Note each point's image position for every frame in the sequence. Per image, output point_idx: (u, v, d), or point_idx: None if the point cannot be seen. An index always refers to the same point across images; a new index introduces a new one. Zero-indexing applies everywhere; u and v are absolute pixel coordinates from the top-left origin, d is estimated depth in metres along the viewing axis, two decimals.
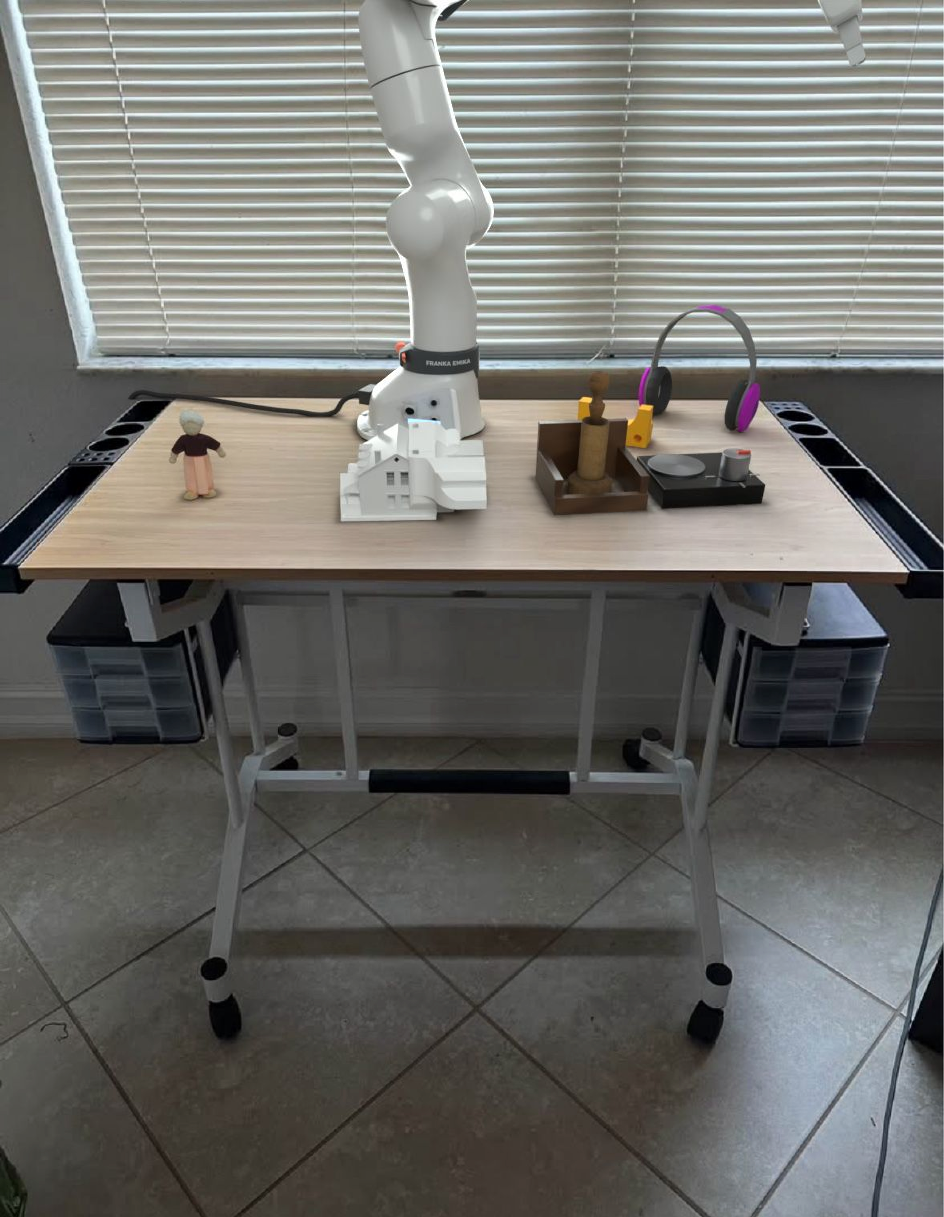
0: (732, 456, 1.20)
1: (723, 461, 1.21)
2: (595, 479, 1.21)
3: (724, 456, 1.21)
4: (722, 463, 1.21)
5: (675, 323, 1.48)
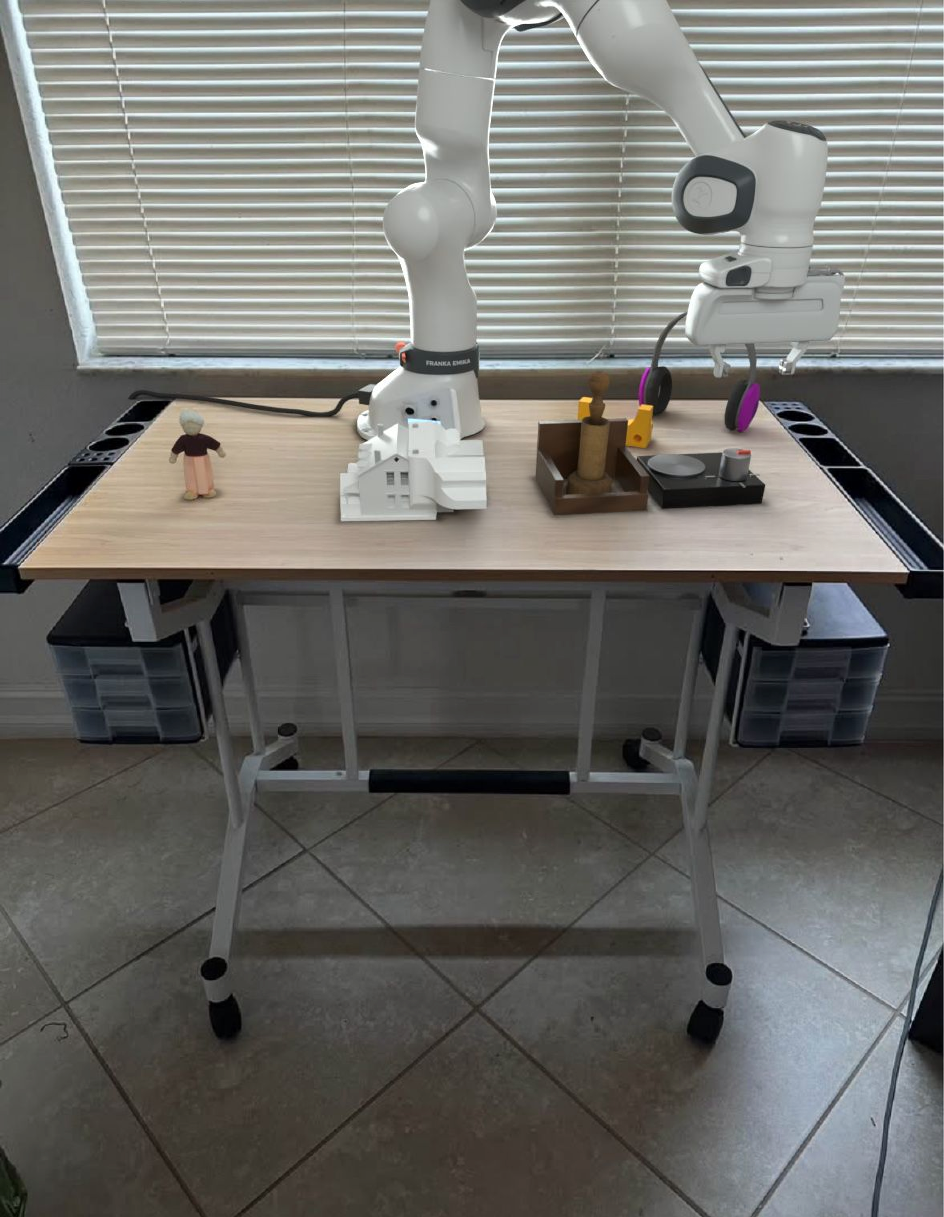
0: (732, 456, 1.20)
1: (723, 461, 1.21)
2: (595, 479, 1.21)
3: (724, 456, 1.21)
4: (722, 463, 1.21)
5: (675, 323, 1.48)
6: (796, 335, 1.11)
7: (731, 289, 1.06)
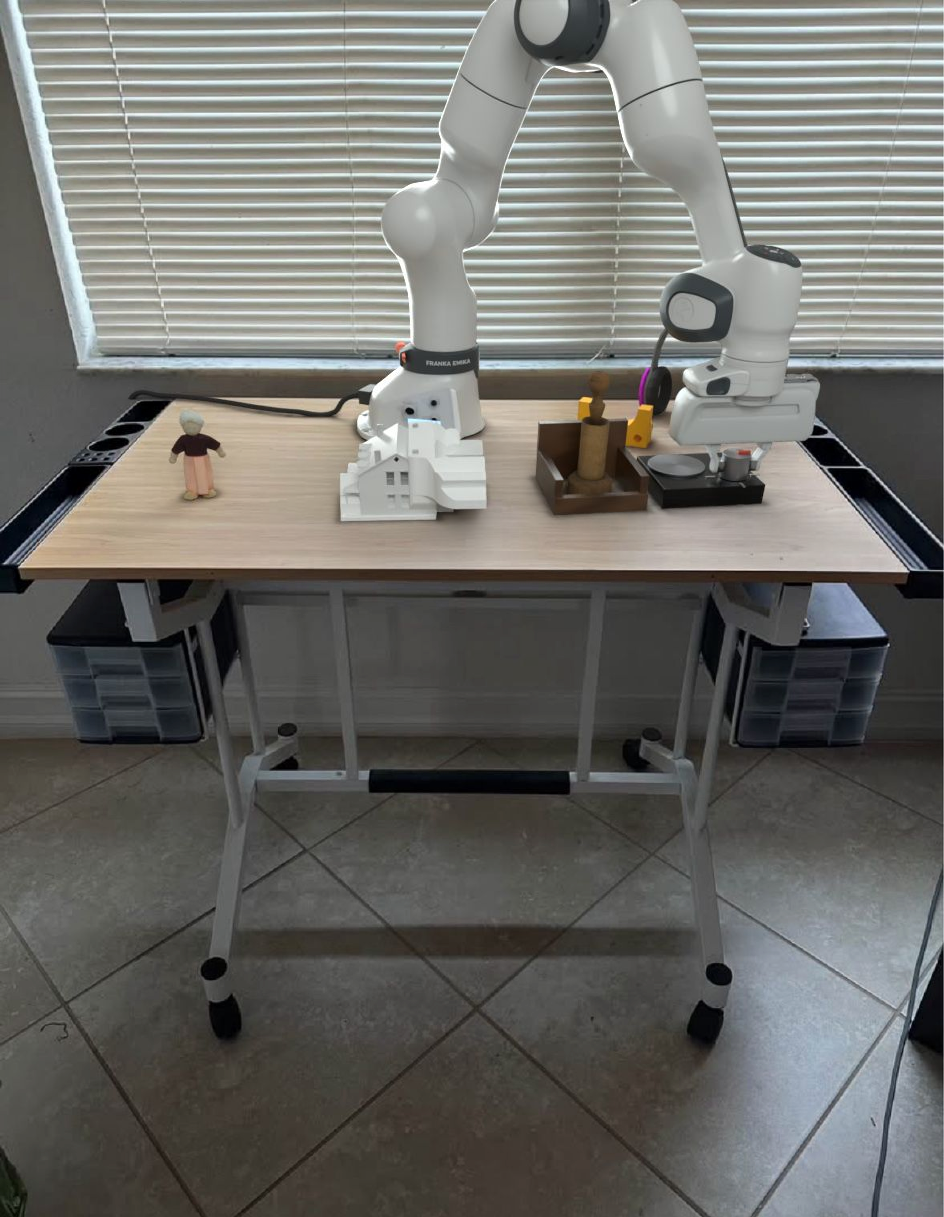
0: (732, 456, 1.20)
1: None
2: (595, 479, 1.21)
3: (724, 456, 1.21)
4: None
5: None
6: (773, 436, 1.18)
7: (712, 397, 1.13)
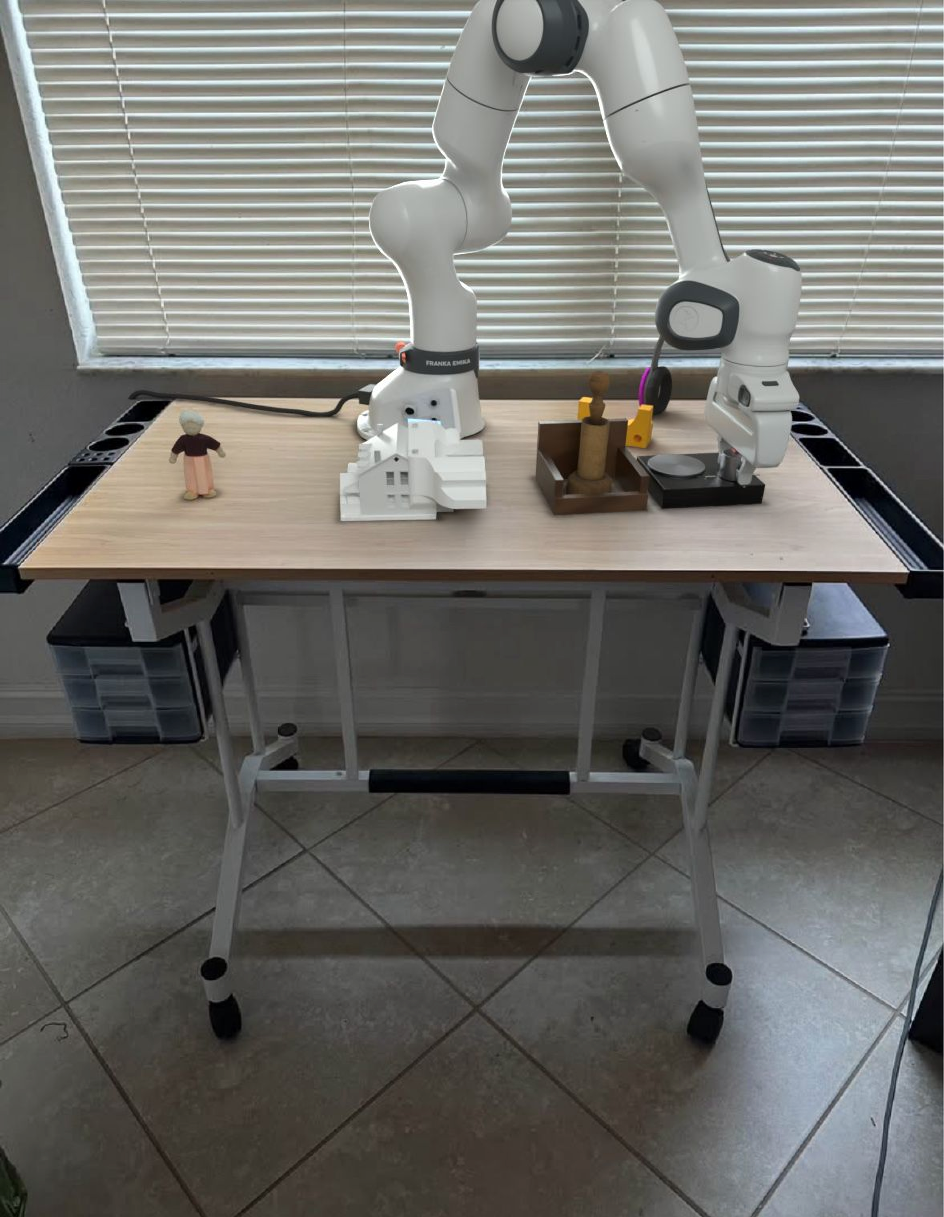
0: None
1: None
2: (595, 479, 1.21)
3: None
4: None
5: None
6: None
7: None
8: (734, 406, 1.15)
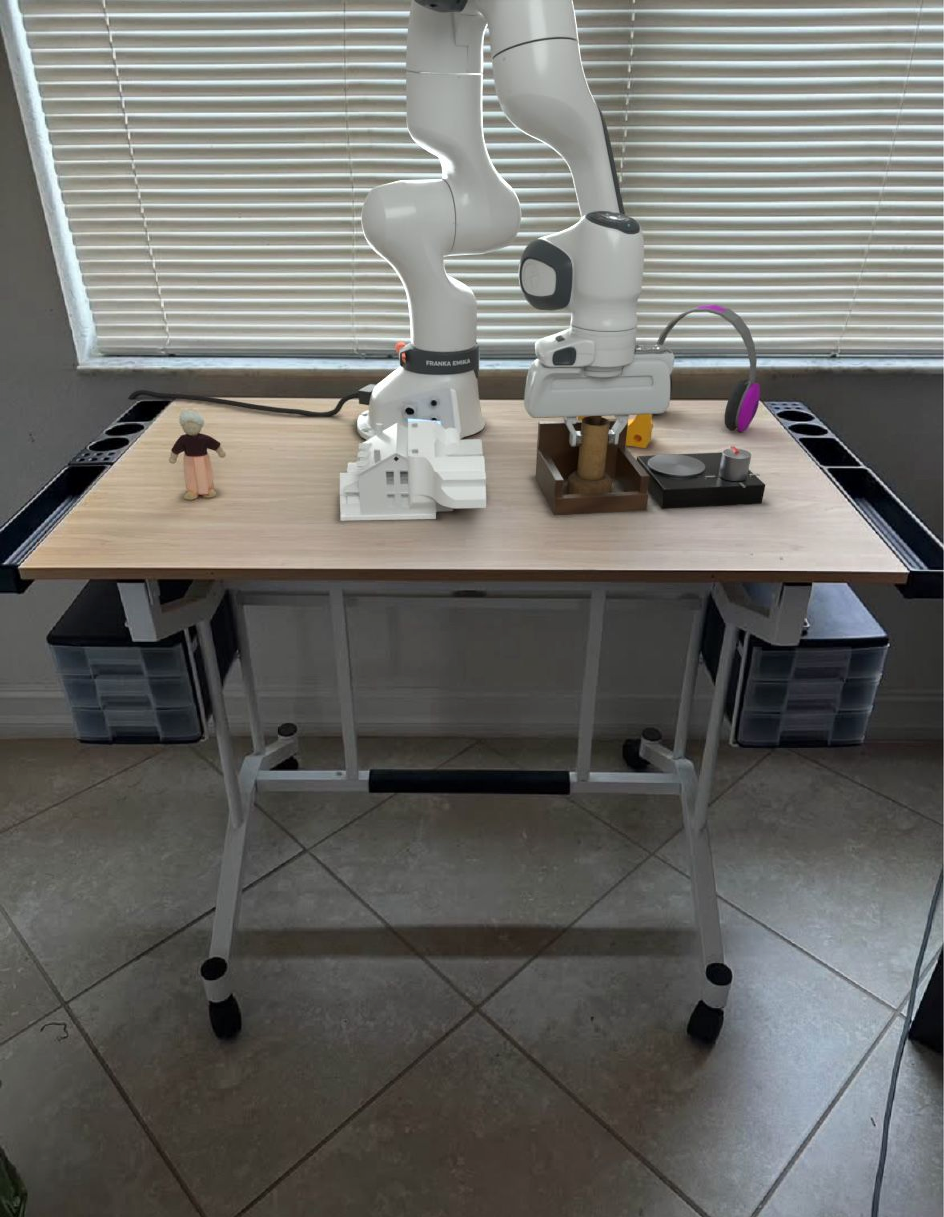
0: (748, 456, 1.20)
1: (742, 465, 1.20)
2: (595, 479, 1.21)
3: (743, 460, 1.20)
4: (741, 467, 1.20)
5: (675, 323, 1.48)
6: (629, 409, 1.17)
7: (559, 367, 1.11)
8: None
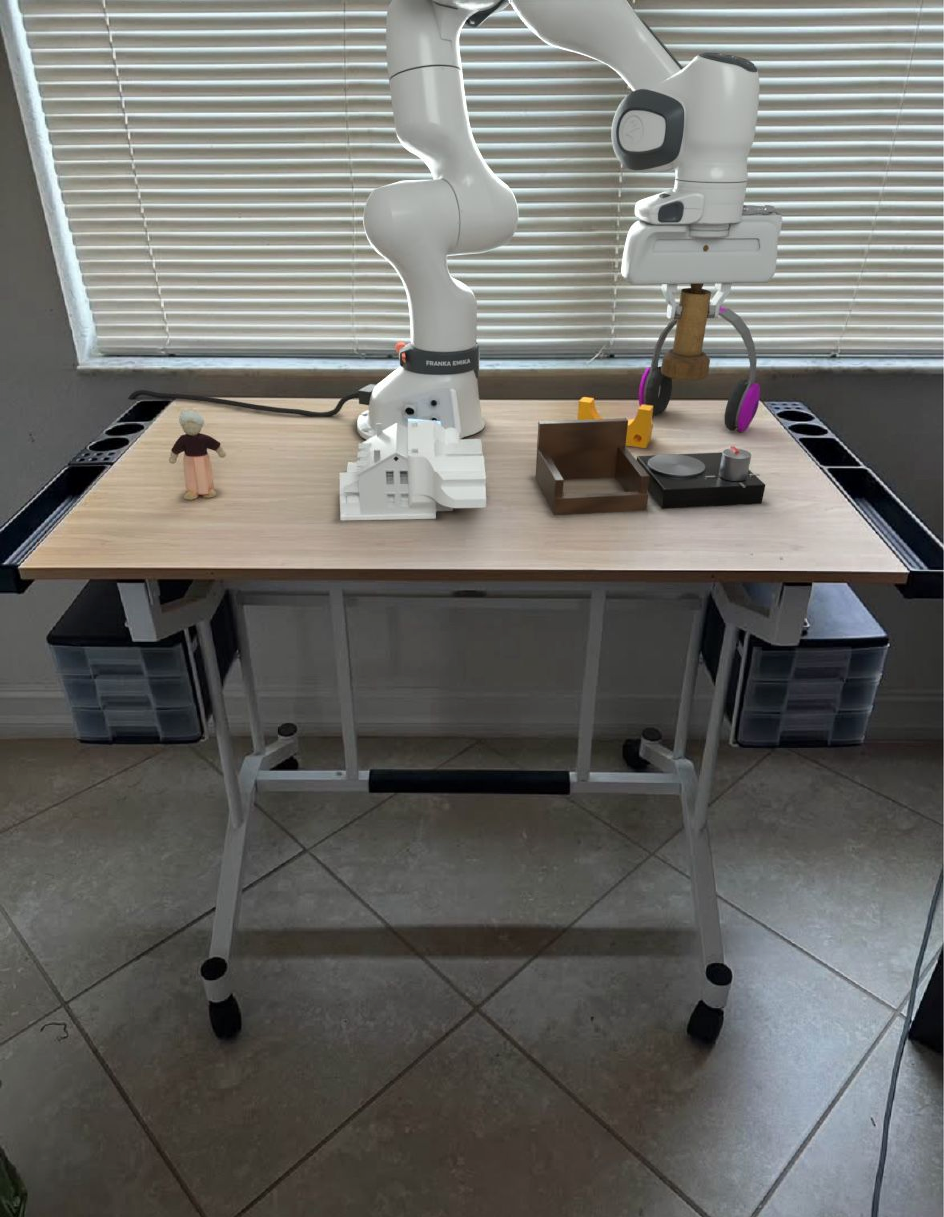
0: (748, 456, 1.20)
1: (742, 465, 1.20)
2: (693, 355, 1.15)
3: (743, 460, 1.20)
4: (741, 467, 1.20)
5: (675, 323, 1.48)
6: (733, 276, 1.10)
7: (664, 225, 1.05)
8: None
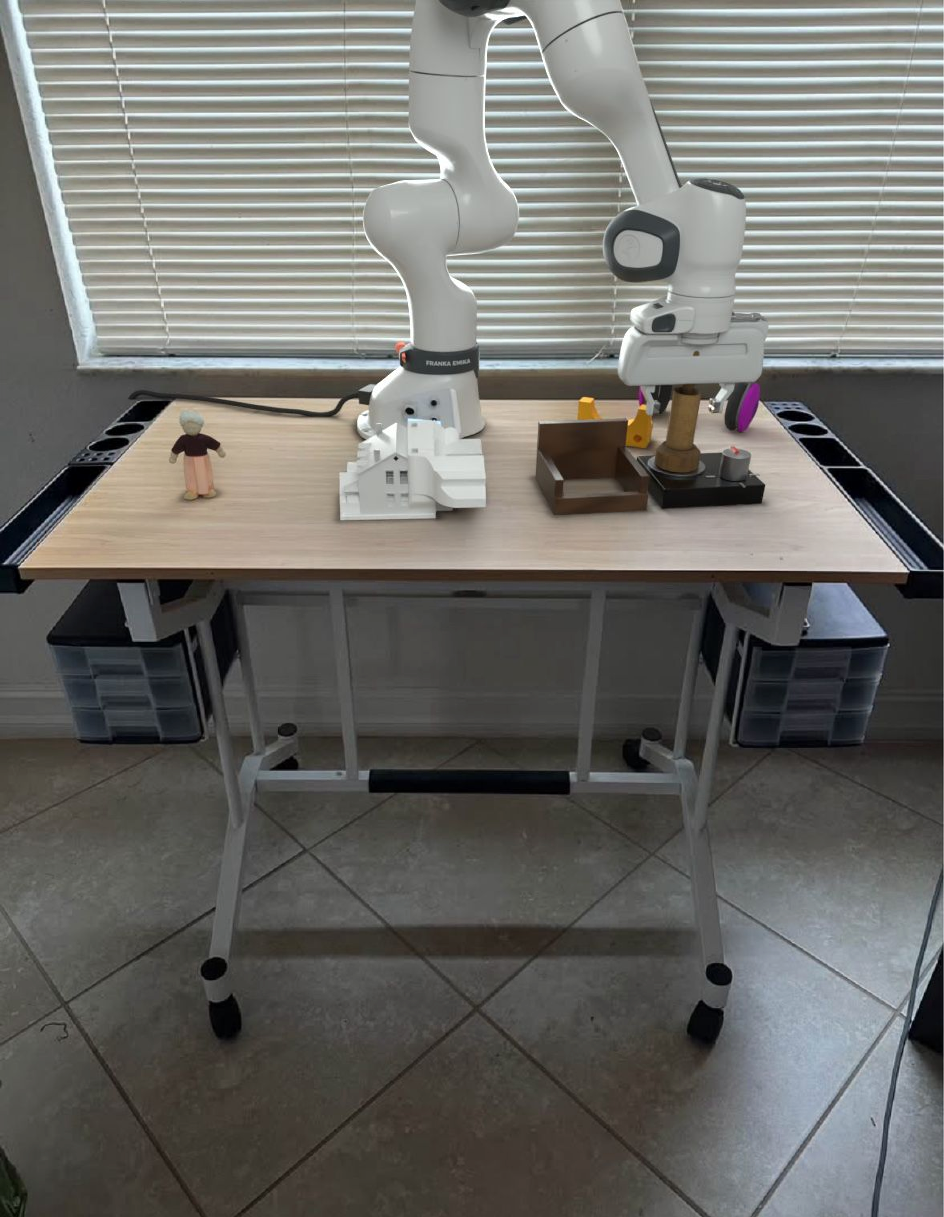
0: (748, 456, 1.20)
1: (742, 465, 1.20)
2: (685, 449, 1.22)
3: (743, 460, 1.20)
4: (741, 467, 1.20)
5: None
6: (722, 377, 1.18)
7: (658, 334, 1.12)
8: None
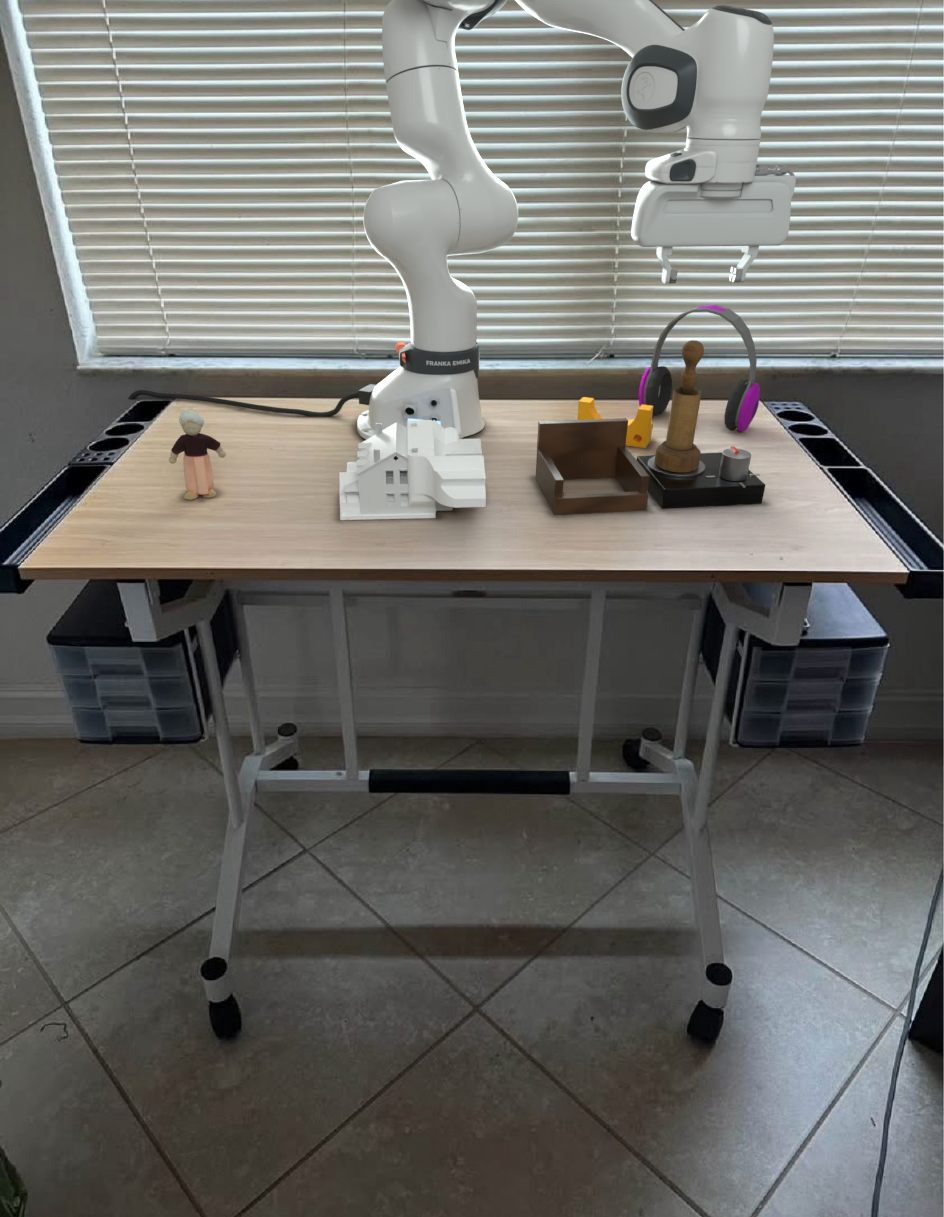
0: (748, 456, 1.20)
1: (742, 465, 1.20)
2: (685, 449, 1.22)
3: (743, 460, 1.20)
4: (741, 467, 1.20)
5: (675, 323, 1.48)
6: (745, 238, 1.08)
7: (676, 185, 1.03)
8: None
